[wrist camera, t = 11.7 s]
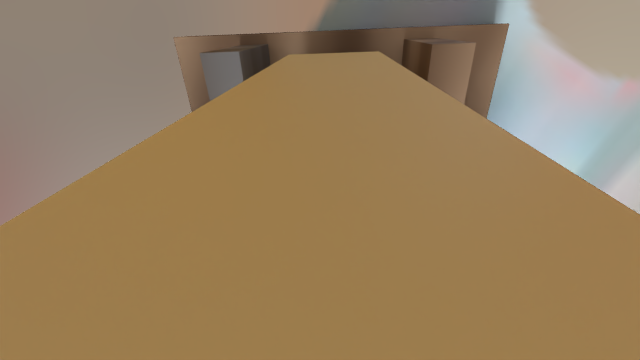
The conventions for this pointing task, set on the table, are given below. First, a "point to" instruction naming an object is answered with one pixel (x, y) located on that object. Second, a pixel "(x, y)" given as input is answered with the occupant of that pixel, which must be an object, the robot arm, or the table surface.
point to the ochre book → (324, 236)
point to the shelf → (396, 43)
